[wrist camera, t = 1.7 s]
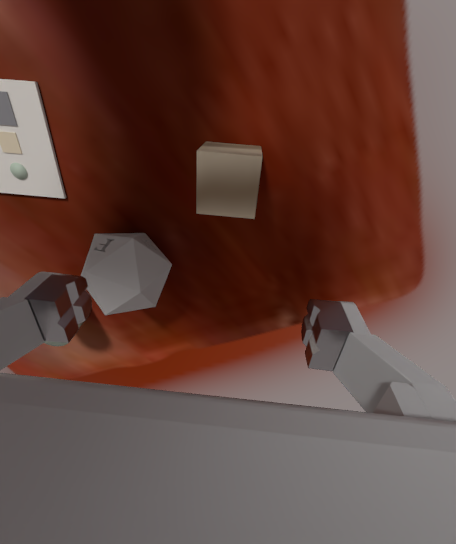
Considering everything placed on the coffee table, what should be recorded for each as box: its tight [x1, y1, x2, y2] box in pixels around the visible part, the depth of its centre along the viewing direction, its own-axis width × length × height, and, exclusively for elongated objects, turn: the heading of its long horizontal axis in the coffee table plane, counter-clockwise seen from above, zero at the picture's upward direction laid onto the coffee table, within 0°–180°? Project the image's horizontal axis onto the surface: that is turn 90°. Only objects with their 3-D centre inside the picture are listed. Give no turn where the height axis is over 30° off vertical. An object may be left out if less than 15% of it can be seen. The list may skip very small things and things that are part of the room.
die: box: [81, 233, 172, 315], centre depth 29 cm, size 8×9×10 cm
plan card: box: [0, 79, 66, 199], centre depth 26 cm, size 10×8×1 cm
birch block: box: [196, 142, 263, 219], centre depth 24 cm, size 5×5×5 cm
